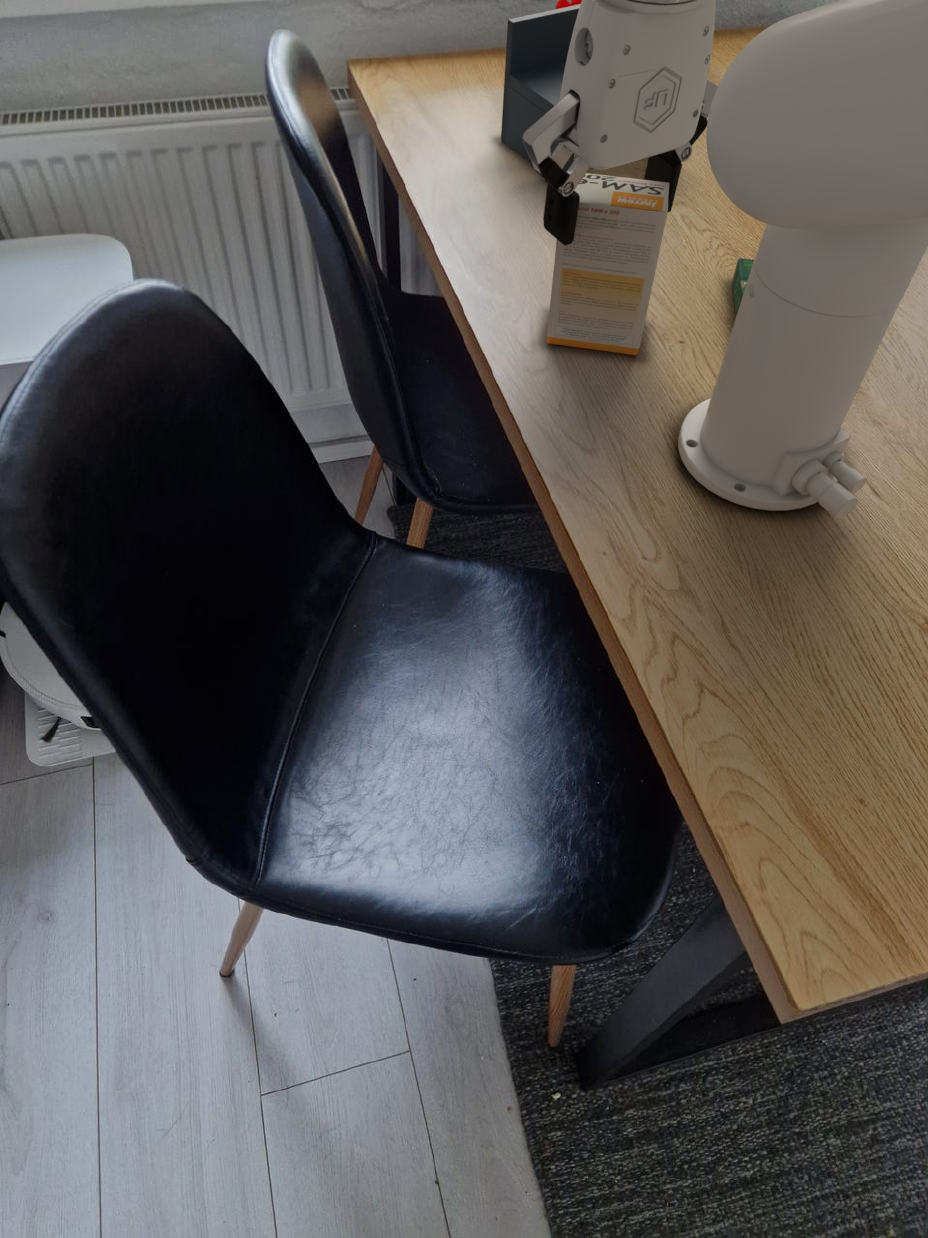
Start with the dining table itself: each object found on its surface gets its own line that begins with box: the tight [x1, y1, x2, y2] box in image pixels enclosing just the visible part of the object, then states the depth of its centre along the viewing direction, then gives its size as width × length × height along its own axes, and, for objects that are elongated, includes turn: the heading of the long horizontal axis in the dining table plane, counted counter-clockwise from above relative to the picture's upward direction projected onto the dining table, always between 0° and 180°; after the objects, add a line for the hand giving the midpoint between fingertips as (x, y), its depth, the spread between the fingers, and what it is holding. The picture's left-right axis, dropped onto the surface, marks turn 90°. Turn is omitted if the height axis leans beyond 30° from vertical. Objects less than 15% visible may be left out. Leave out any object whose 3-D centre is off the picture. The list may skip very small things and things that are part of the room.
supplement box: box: [546, 172, 670, 356], centre depth 73 cm, size 8×5×13 cm, turn 78°
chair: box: [500, 4, 581, 173], centre depth 94 cm, size 12×15×12 cm
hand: (607, 220), depth 70 cm, fingers open, 9 cm apart
